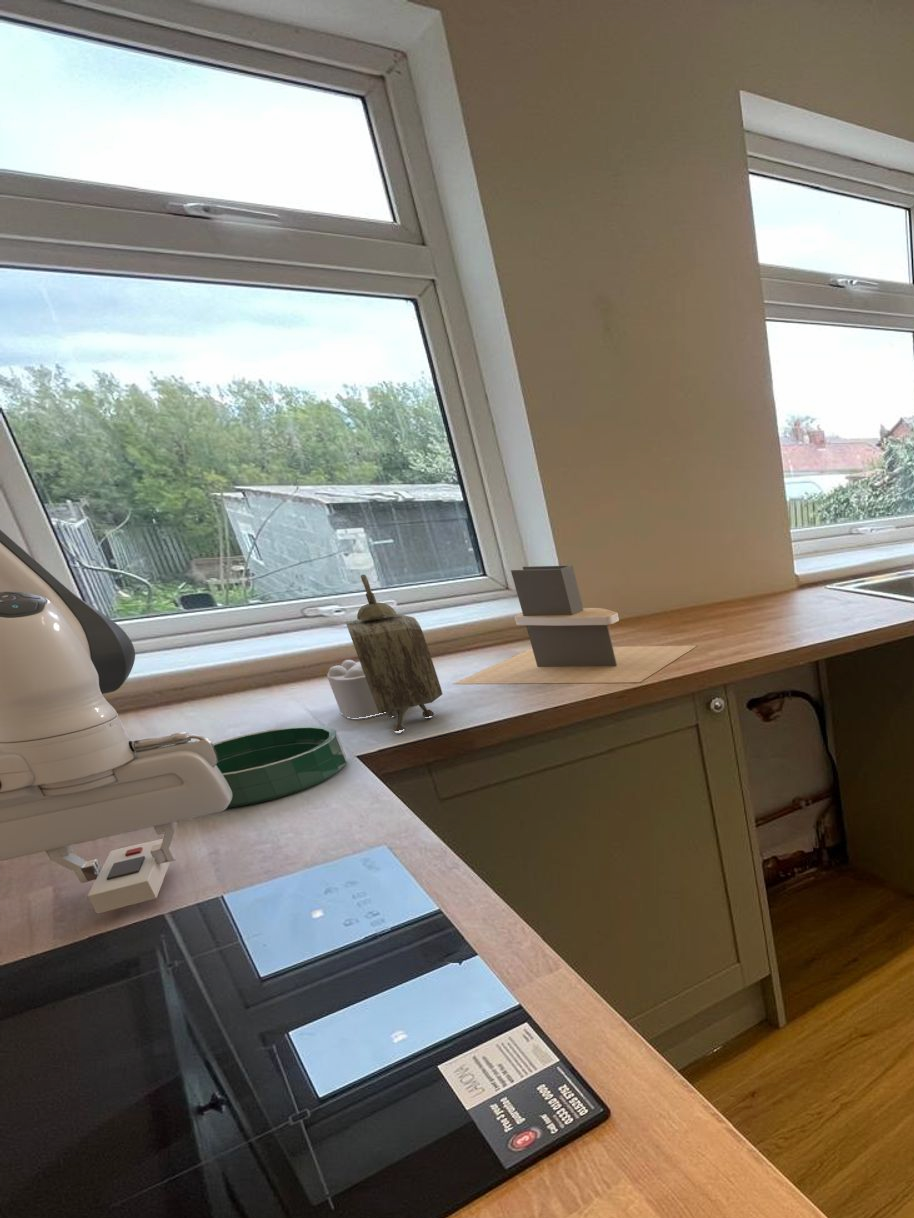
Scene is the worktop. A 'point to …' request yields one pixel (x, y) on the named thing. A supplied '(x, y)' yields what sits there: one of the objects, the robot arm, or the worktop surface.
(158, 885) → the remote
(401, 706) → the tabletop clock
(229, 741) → the bowl
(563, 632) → the architectural model
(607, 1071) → the worktop surface
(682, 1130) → the worktop surface
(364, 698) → the lumpy-topped squat cylinder
